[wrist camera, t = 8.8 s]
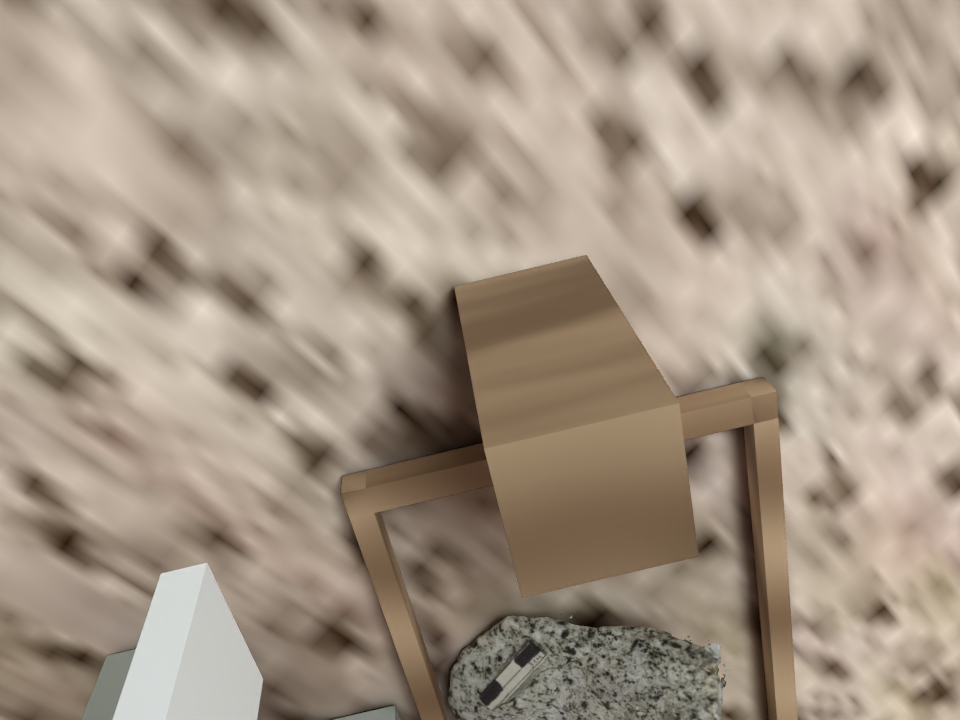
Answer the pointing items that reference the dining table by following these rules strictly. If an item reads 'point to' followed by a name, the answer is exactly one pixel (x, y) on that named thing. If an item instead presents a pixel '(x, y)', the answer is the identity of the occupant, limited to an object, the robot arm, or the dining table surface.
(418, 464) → the brown open frame
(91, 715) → the grey open frame
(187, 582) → the robot arm
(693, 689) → the rock sample
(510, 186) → the dining table surface
